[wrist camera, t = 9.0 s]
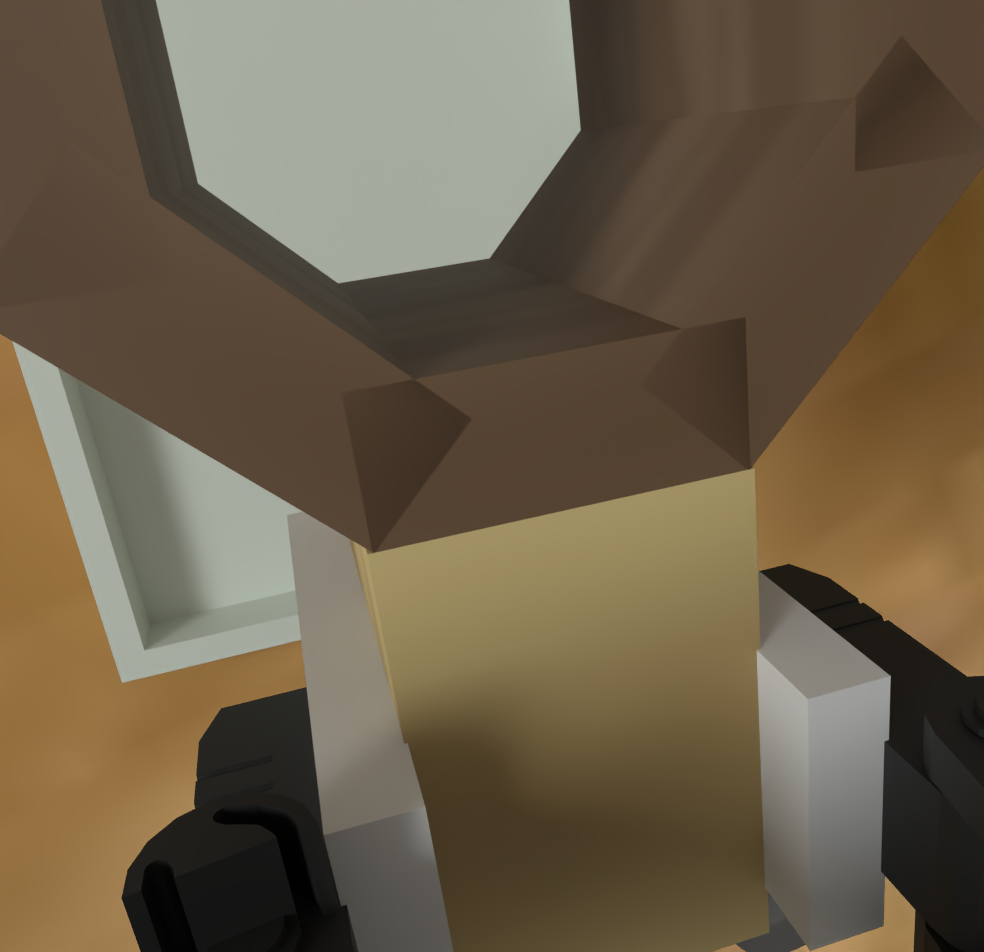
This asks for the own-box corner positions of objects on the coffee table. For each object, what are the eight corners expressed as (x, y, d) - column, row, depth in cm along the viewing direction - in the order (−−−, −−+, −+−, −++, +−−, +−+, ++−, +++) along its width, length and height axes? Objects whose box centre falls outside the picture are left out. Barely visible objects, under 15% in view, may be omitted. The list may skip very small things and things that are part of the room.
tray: (644, 523, 27) (673, 549, 25) (131, 642, 24) (121, 683, 22) (584, -238, 20) (618, -278, 18) (-129, -193, 17) (-173, -236, 16)
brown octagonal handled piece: (-41, -286, 9) (-453, -940, 4) (642, -315, 11) (1054, -823, 5) (236, 731, 14) (227, 1110, 8) (696, 615, 15) (955, 871, 10)
